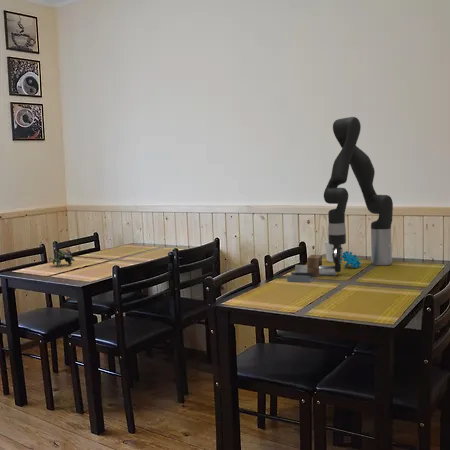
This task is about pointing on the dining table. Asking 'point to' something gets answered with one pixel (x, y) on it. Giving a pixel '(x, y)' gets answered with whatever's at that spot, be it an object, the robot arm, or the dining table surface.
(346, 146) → the robot arm
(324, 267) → the axle
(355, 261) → the gear
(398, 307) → the dining table surface
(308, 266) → the brown block
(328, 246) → the white cup
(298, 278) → the v block
